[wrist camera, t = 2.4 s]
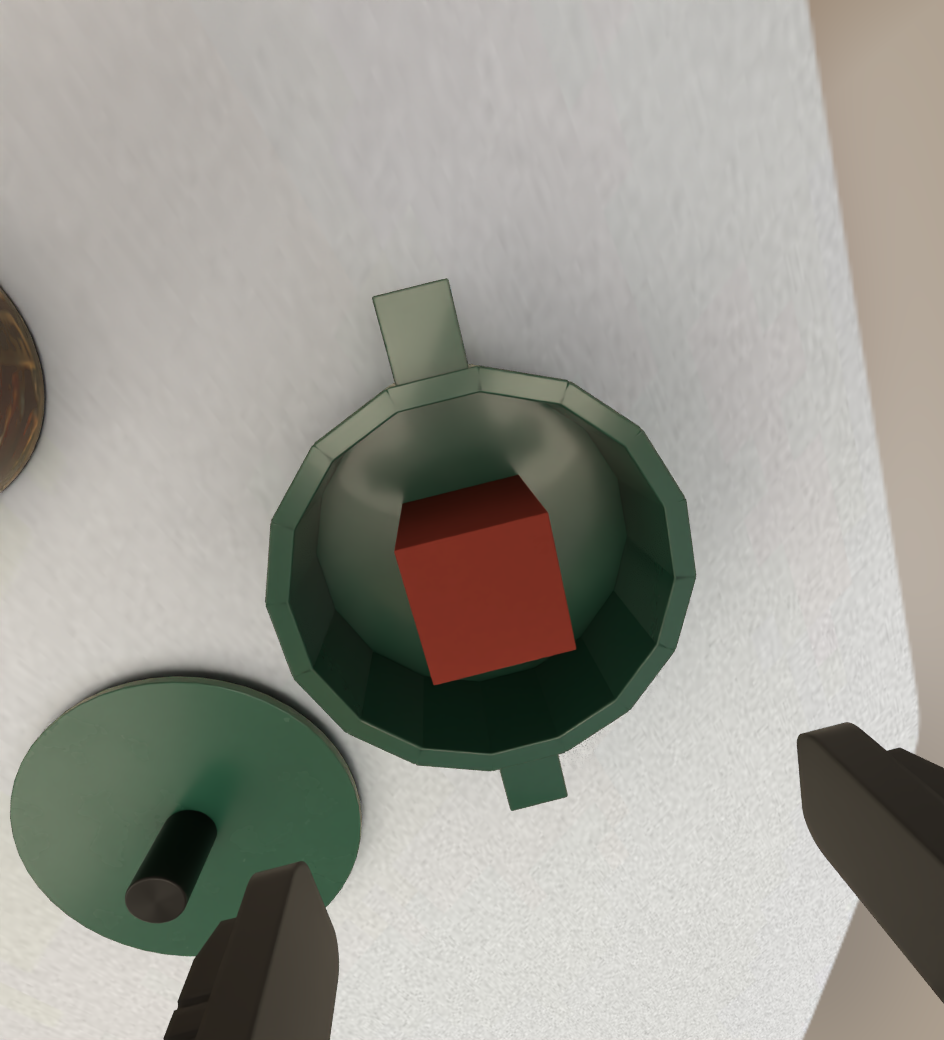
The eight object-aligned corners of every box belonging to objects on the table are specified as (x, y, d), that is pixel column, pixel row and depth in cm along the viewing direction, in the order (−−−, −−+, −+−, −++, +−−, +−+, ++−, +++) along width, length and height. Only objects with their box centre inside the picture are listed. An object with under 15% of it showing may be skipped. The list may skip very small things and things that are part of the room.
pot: (597, 256, 22) (650, 224, 17) (667, 693, 28) (722, 772, 22) (228, 347, 22) (166, 344, 17) (374, 767, 28) (362, 864, 22)
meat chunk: (519, 474, 24) (548, 512, 18) (542, 582, 25) (577, 649, 19) (401, 503, 24) (393, 551, 18) (432, 610, 25) (433, 686, 19)
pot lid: (306, 631, 25) (279, 690, 21) (399, 892, 30) (395, 987, 25) (-37, 717, 25) (-138, 796, 21) (109, 966, 30) (52, 1075, 25)
